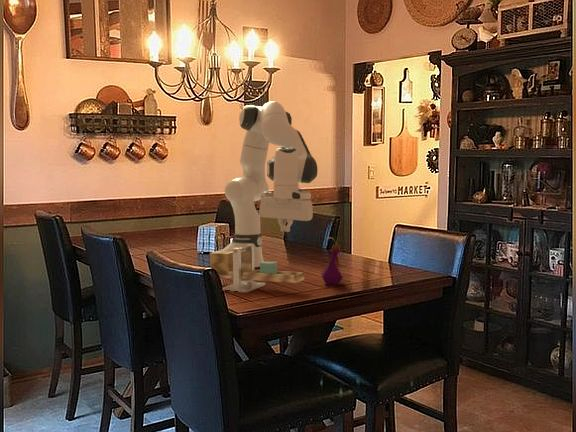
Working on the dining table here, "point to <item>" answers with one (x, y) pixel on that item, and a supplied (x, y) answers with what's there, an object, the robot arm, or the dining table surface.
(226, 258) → the beam
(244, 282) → the stand
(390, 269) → the dining table surface
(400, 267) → the dining table surface
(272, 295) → the dining table surface
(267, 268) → the block
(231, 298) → the dining table surface
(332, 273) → the purple vase
